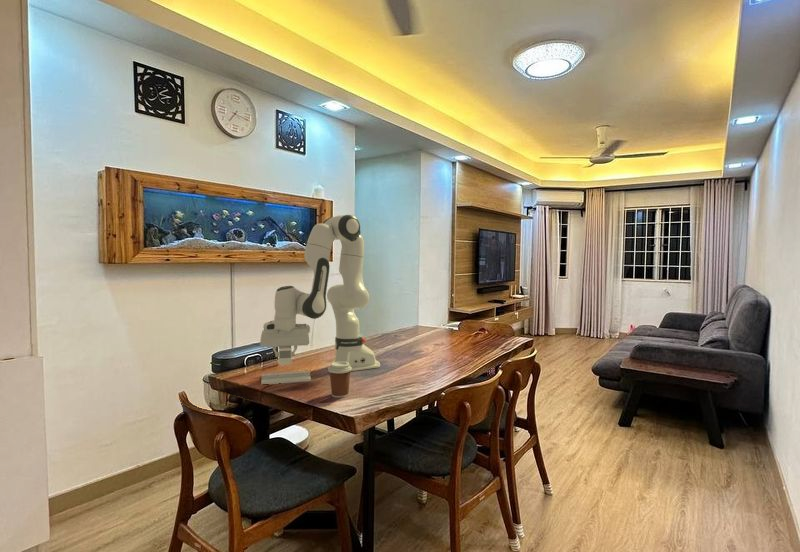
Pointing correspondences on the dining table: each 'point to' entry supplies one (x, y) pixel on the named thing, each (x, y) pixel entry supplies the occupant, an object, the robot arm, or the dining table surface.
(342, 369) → the coffee cup
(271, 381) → the rail plate
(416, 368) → the dining table surface
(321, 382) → the dining table surface
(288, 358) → the block
